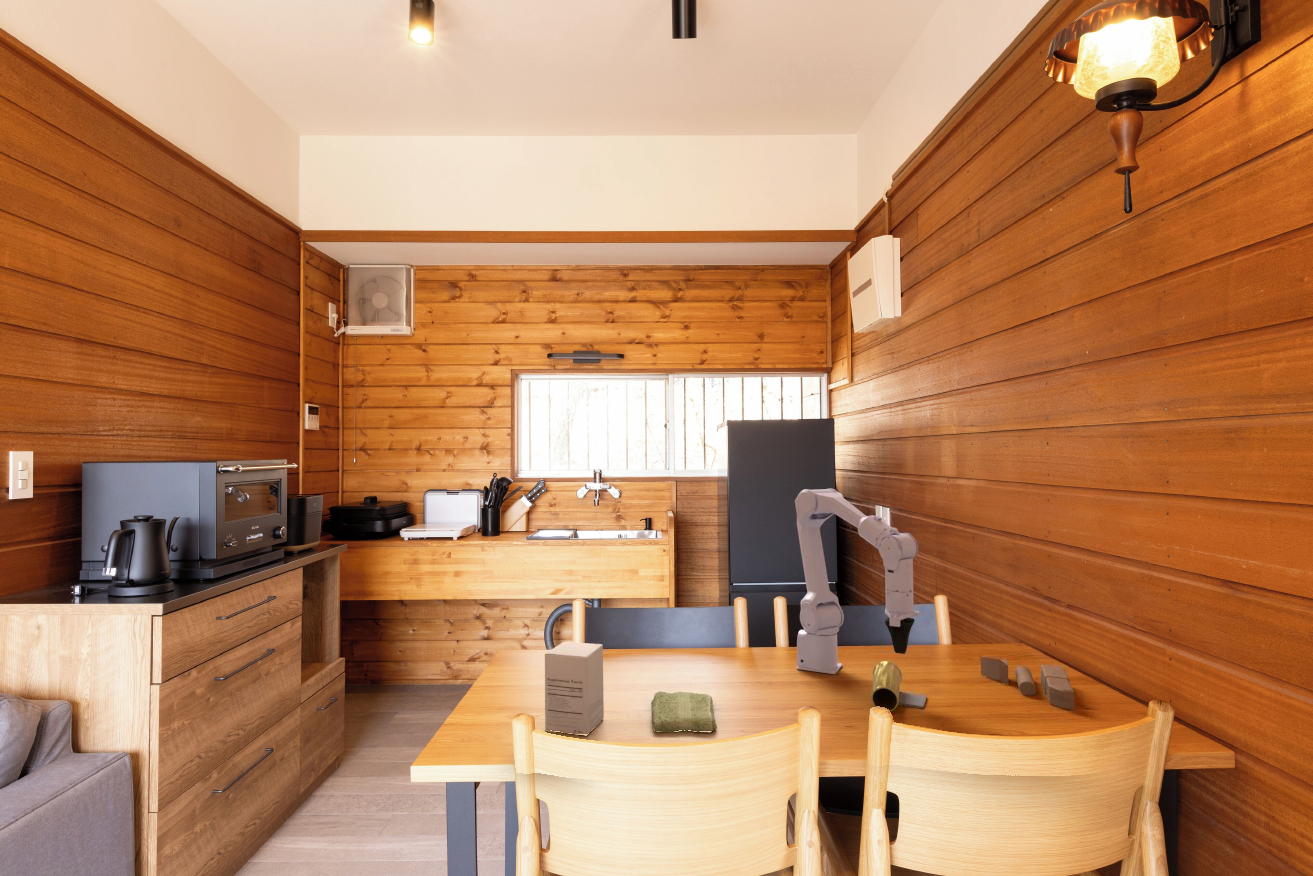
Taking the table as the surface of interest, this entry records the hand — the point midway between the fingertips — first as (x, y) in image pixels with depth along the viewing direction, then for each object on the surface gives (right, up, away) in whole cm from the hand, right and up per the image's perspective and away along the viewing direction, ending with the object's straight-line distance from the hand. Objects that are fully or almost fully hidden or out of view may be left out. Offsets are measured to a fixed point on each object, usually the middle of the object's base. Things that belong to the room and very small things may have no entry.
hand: (900, 652), depth 143 cm
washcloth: (-48, -10, -10) cm, 50 cm away
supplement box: (-69, -10, -15) cm, 71 cm away
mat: (-1, -9, -2) cm, 10 cm away
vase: (-2, -6, +4) cm, 7 cm away
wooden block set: (+28, -10, +3) cm, 30 cm away
